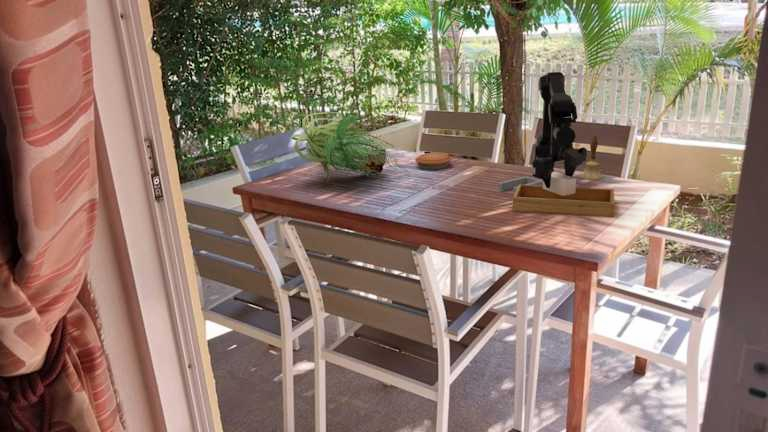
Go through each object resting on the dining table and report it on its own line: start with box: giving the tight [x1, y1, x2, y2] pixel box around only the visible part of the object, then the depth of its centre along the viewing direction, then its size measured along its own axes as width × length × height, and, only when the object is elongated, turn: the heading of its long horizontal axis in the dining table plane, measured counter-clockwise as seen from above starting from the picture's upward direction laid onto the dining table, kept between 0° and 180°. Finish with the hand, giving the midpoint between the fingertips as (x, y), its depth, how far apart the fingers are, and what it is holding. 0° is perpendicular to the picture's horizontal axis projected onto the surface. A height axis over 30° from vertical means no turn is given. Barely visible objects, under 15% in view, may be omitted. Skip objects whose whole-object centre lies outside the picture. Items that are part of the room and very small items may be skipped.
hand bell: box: [579, 134, 604, 181], centre depth 225 cm, size 8×8×16 cm
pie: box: [414, 152, 453, 171], centre depth 254 cm, size 15×16×5 cm
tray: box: [512, 184, 615, 218], centre depth 197 cm, size 31×15×6 cm, turn 71°
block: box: [542, 171, 577, 196], centre depth 197 cm, size 10×5×5 cm, turn 25°
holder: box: [498, 175, 543, 195], centre depth 217 cm, size 13×9×3 cm, turn 121°
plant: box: [291, 109, 415, 187], centre depth 237 cm, size 35×35×40 cm
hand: (558, 185), depth 198 cm, fingers open, 9 cm apart
